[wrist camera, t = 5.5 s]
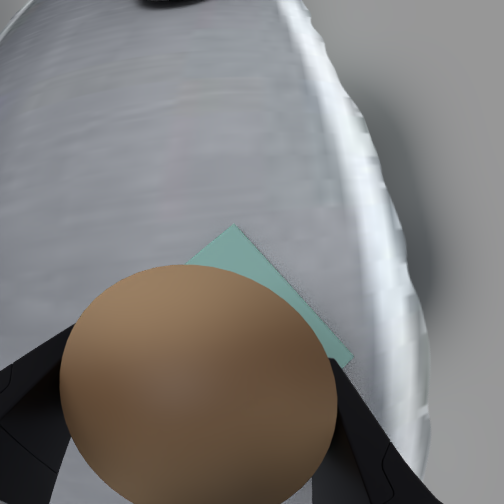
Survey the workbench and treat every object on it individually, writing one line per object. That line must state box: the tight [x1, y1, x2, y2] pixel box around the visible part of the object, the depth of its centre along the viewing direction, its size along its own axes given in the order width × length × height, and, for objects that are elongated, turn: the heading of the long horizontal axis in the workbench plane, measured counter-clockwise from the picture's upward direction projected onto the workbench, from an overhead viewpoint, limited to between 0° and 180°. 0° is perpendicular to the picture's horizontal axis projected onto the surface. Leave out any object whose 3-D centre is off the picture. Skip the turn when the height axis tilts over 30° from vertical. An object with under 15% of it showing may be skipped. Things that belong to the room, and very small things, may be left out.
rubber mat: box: [184, 224, 354, 368], centre depth 21 cm, size 14×14×1 cm
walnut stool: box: [60, 265, 337, 504], centre depth 11 cm, size 7×7×10 cm
